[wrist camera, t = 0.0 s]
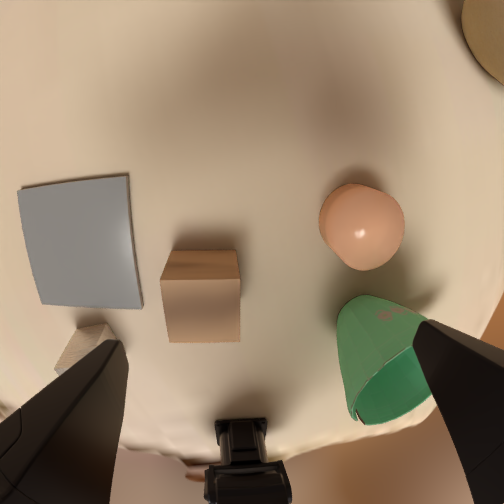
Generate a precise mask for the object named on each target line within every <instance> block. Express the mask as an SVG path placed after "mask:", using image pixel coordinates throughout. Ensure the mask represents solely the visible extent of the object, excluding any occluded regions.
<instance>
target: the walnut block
mask: <svg viewBox="0 0 504 504" xmlns="http://www.w3.org/2000/svg"><path fill="white" fill-rule="evenodd" d="M160 286H161V293H162V300H163V307H164V313H165V319H166V326H167V331H168V337H169V342H172V343H210V342H240V274H239V268H238V262H237V256H236V250H187V251H171V253H170V255H169V258H168V260H167V263H166V265H165V268H164V271H163V273H162V276H161V278H160Z"/></svg>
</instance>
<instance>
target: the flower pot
mask: <svg viewBox="0 0 504 504" xmlns="http://www.w3.org/2000/svg"><path fill="white" fill-rule="evenodd" d="M461 23H462V29H463V33H464V36H465V39H466V41H467V43H468V46H469V48H470V49H471V51H472V53H473V55H474V56H475V58H476V59H477V61H478V62H479V63H480V64H481V66H482V67H483V68H484V69H485V70H486V71H487V72H488V73H490V74H491V75H492V76H493V77H494V78H495V79H497V80H498V81H499V82H500V83H501V84H503V85H504V0H464V4H463V9H462V15H461Z"/></svg>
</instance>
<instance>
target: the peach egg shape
mask: <svg viewBox="0 0 504 504" xmlns="http://www.w3.org/2000/svg"><path fill="white" fill-rule="evenodd" d="M404 227H405V222H404V215H403V212H402V209H401V207H400V205H399V204H398V202H397V201H396V200H395V199H394V198H393V197H391V196H390V195H388V194H386V193H383V192H381V191H378V190H375V189H373V188H370V187H367V186H364V185H361V184H347V185H343V186H341V187H339V188H337V189H336V190H335V191H333V192H332V193H331V194H330V195H329V196H328V198H327V199H326V200H325V202H324V204H323V206H322V208H321V211H320V216H319V229H320V233H321V236H322V238H323V240H324V241H325V243H326V244H327V245H328V246H329V247H330V248H331V249H332V250H333V251H334V252H335V253H336V254H337V255H338V256H339V257H340V258H341V259H342V260H343V261H344V262H345V264H347V265H348V266H350V267H351V268H354V269H357V270H372V269H375V268H377V267H380V266H381V265H383V264H385V263H386V262H387V261H388V260H389V259H390V258H391V257H392V256H393V255H394V254H395V253H396V251H397V249H398V248H399V246H400V244H401V241H402V238H403V234H404Z"/></svg>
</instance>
